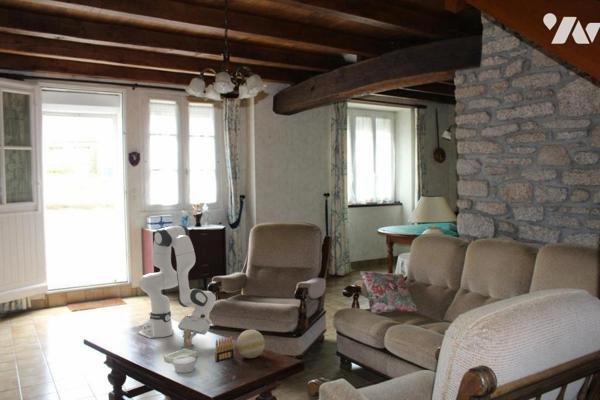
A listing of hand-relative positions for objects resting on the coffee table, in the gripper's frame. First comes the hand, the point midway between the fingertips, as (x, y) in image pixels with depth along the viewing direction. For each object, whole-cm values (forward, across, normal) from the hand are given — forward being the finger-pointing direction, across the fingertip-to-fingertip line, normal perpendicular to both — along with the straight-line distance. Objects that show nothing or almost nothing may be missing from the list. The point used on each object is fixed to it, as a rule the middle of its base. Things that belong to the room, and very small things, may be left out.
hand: (186, 338), depth 292 cm
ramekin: (+22, +23, -13) cm, 34 cm away
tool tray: (+14, +9, -5) cm, 17 cm away
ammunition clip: (+7, +31, +2) cm, 32 cm away
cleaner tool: (+4, 0, +5) cm, 6 cm away
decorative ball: (0, +41, +9) cm, 42 cm away
